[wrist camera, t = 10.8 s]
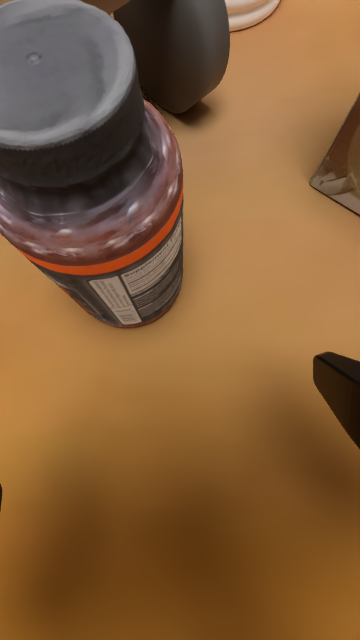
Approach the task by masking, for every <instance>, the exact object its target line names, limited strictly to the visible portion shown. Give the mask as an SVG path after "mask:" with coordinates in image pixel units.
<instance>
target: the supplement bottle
mask: <svg viewBox="0 0 360 640" xmlns="http://www.w3.org/2000/svg"><path fill="white" fill-rule="evenodd" d="M0 233H1V234H2V236H4V237H5V238H6V239H7V240H8V241H9V242H10V243H11V244H12V245H13V246H14V247H16V248H17V249H18V250H19V251H20V252H21V253H22V254H23V255H24V256H25V257H26V258H27V259H28V260H29V261H30V262H31V263H33V264H34V265H35V266H36V267H37V268H39V269H40V270H41V271H42V272H43V273H44V274H45V275H46V276H47V277H48V278H50V279H51V280H52V281H54V282H55V283H56V284H57V285H58V286H59V287H60V288H61V289H62V290H64V291H65V292H66V293H67V294H68V295H69V296H70V297H71V298H72V299H73V300H74V301H75V302H77V303H78V304H79V305H80V306H81V307H82V308H83V309H84V310H86V311H87V312H88V313H89V314H91V315H92V316H93V317H95V318H97V319H98V320H100V321H102V322H104V323H106V324H109V325H112V326H115V327H122V328H124V327H127V328H128V327H137V326H141V325H145V324H148V323H150V322H153V321H154V320H156V319H158V318H159V317H160V316H162V315H163V314H164V313H165V312H166V311H167V310H168V309H169V308H170V307H171V306H172V304H173V303H174V301H175V300H176V298H177V296H178V293H179V291H180V288H181V282H182V274H183V169H182V160H181V154H180V150H179V147H178V143H177V140H176V138H175V136H174V133H173V132H172V130H171V128H170V126H169V125H168V123H167V122H166V120H165V119H164V118H163V116H162V115H161V114H160V113H159V111H158V110H157V109H155V108H154V107H153V105H152V104H151V103H149V102H147V101H146V100H144V99H143V95H142V92H141V89H140V85H139V79H138V71H137V65H136V59H135V54H134V50H133V47H132V45H131V42H130V39H129V37H128V36H127V34H126V33H125V31H124V29H123V28H122V26H121V25H120V24H119V23H118V22H117V21H115V20H113V19H112V18H111V17H110V16H109V15H108V14H107V13H106V12H104V11H102V10H100V9H99V8H97V7H95V6H92V5H89V4H86V3H84V2H82V1H80V0H14V1H11V2H8V3H5V4H3V5H1V6H0Z"/></svg>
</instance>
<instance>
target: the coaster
mask: <svg viewBox="0 0 360 640" xmlns="http://www.w3.org/2000/svg"><path fill="white" fill-rule="evenodd" d="M279 2H280V0H225V3H226V8H227V13H228V20H229V31H230V32H231V31H237V30H241V29H245V28H248V27H250V26H253V25H255V24H257V23H259V22H261V21H262V20H264V19H265V18H266V17H268V16H269V15H270V14H271V13H272V12H273V11H274V10H275V8H276V7H277V6H278V4H279Z"/></svg>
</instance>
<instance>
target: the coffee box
mask: <svg viewBox="0 0 360 640" xmlns="http://www.w3.org/2000/svg"><path fill="white" fill-rule="evenodd" d="M310 185H311V186H313V187H315V188H316V189H318V190H319V191H321V192H322V193H324V194H326V195H327V196H329V197H331V198H333V199H334V200H336V201H338V202H339V203H341V204H343V205H344V206H346V207H348V208H349V209H351V210H353V211H354V212H356V213H357V214H359V215H360V93H359V95H358V96H357V98H356V100H355V102H354V104H353V106H352V107H351V109H350V111H349V113H348V115H347V116H346V118H345V120H344V122H343V124H342V126H341V127H340V129H339V131H338V133H337V135H336V136H335V138H334V140H333V142H332V143H331V145H330V147H329V149H328V151H327V152H326V154H325V156H324V158H323V159H322V161H321V163H320V165H319V167H318V168H317V170H316V172H315V173H314V175H313V177H312V179H311V181H310Z"/></svg>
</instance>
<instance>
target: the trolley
mask: <svg viewBox="0 0 360 640" xmlns="http://www.w3.org/2000/svg"><path fill="white" fill-rule="evenodd" d="M11 1H14V0H0V6H1V5H3V4H5V3H8V2H11ZM80 1H82V2H84V3H86V4H89V5H92V6H95V7H97V8H99V9H100V10H102V11H104V12H106V13H107V14H108V15H110V14H111V13H112V12H113V15H114V20H115V21H117V22H118V23H119V24H120V25H121V26H122V28H123V29H124V31H125V33H126V34H127V36H128V37H129V39H130V42H131V45H132V47H133V50H134V54H135V59H136V65H137V71H138V79H139V83H140V84H141V86H142V87H143V88H144V90H145V91H146V92H147V94H148V95H149V96H150V97H151V98H152V99H153V100H154V101H155V102H156V103H157V104H158V105H159V106H160V107H162V108H163V109H165V110H167V111H169V112H172V113H182V112H185V111H186V110H187V109H189V108H190V107H191V106H193V105H194V104H195V103H197V102H198V101H199V100H200V99H202V98H203V97H204V96H206V95H207V94H208V93H209V92H211V91H212V90H213V89H215V88H216V87H217V85H218V84H219V83H220V81H221V80H222V78H223V76H224V73H225V71H226V67H227V63H228V58H229V49H230V31H229V20H228V13H227V8H226V3H225V0H80Z"/></svg>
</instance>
